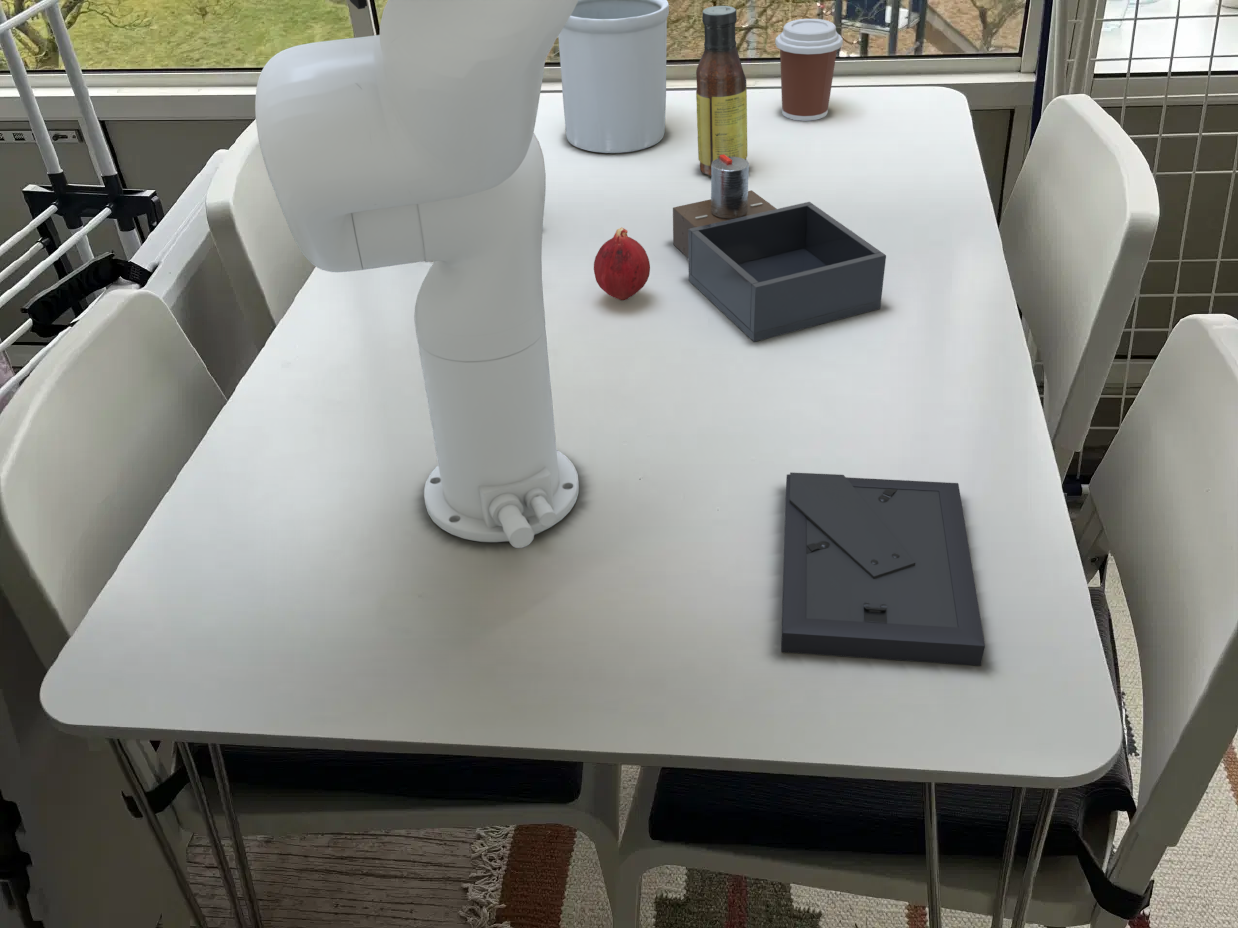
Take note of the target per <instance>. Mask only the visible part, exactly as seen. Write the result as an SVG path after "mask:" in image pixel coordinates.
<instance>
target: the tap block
mask: <svg viewBox="0 0 1238 928" xmlns="http://www.w3.org/2000/svg"><path fill="white" fill-rule="evenodd" d="M775 209H777V208H776V207H775V206H774V205H772V204H771V203H770V202H768V201H767V200H766V199H764V198H763V197H762V196H760V195H759V194H757V193H756V192H754V190H748V209H747V213H746V214H745V215H744V216H748V215H753V214H757V213H762V212H766V211H770V210H775ZM744 216H742V217H744ZM733 219H735V218H733ZM726 220H731V219H725V218H719V217H716V216H714V215H713V214H712V213H711V198H710V199H706V200H705V199H704V200H700V201H696V202H692V203H687V204H683V205H678V206H674V207H672V244H673V245H674V247H676V248H677V249H678V250H679V251H680V252H681V253H682V254H683V255H685V256H686V257H687V259H689V256H688V229H691V228H695V227H700V226H704V225H708V224H713V223H717V222H722V221H726Z"/></svg>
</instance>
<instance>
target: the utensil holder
mask: <svg viewBox="0 0 1238 928" xmlns="http://www.w3.org/2000/svg"><path fill="white" fill-rule="evenodd" d="M669 13H670V4H669V1H668V0H578V2H577V4H576V6H575V8H574V10H573V12H572V14H571V15H570V17H569V19H568V21H567V22H566V24H565V26H564V27H563V29H562V31H561V32H560V34H559V36H558V37H557V39H558V51H559V65H560V77H561V90H562V91H561V92H562V105H563V115H564V127H565V135H566V140H567V142H568V143H569V144H570V145H572V146H574V147H576V148H578V149H580V150H584V151H588V152H593V153H600V154H601V153H603V154H621V153H631V152H636V151H641V150H645V149H647V148H650V147H653V146H655V145H657V144H658V143H659V142H661V141H662V139H663V138H664V136H665V130H666V111H667V110H666V107H667V51H668V50H667V46H668V45H667V42H668V41H667V39H668V25H667V24H668V22H667V20H668V19H667V18H668V17H669Z"/></svg>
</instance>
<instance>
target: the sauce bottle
mask: <svg viewBox="0 0 1238 928" xmlns="http://www.w3.org/2000/svg"><path fill="white" fill-rule="evenodd" d="M701 18H702V19H701V20H702V23H703V26H704V27H703V28H704V42H703V45H704V48H703V49H704V50H703V53H702V55H701V57H700V59H699V61H698V64H697V67H696V71H695V77H696V91H695V99H696V126H697V127H696V128H697V129H696V130H697V155H698V158H697V159H698V162H699V166H700V167H699V170H700V171H701V173H702V174H705V175H707V176H710V177H711V164H712V162H713V161H714V160H716V159H718V158H720V155H723V154H724V155H726V156H727V157H739V158H743V159H745V160H747V158H748V94H747V93H748V92H747V90H748V89H747V86H748V85H747V77H746V75H745V72H744V68H743V66H742V61H741V58H740V54H739V51H738V48H737V41H736V24H737V21H738V17H737V9H736V8H735V7H733V6H729V5H714V6H709V7H706V8H704V9H703V10H702V17H701Z"/></svg>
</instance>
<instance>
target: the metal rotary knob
mask: <svg viewBox="0 0 1238 928" xmlns="http://www.w3.org/2000/svg"><path fill="white" fill-rule="evenodd" d="M749 169H750V163H749V161H748V160H747V159H746V160H745V159H743V158H739V157H727V156H726V155H724V154H723V155H720V158H718V159H716V160H714V161H713V162H712V164H711V176H710V199H711V213H712V214H713V215H714V216H716V217H719V218H725V219H733V218H739V217H742V216H744V215H745V214H746V213H747V209H748V191H749V173H750V172H749Z"/></svg>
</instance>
